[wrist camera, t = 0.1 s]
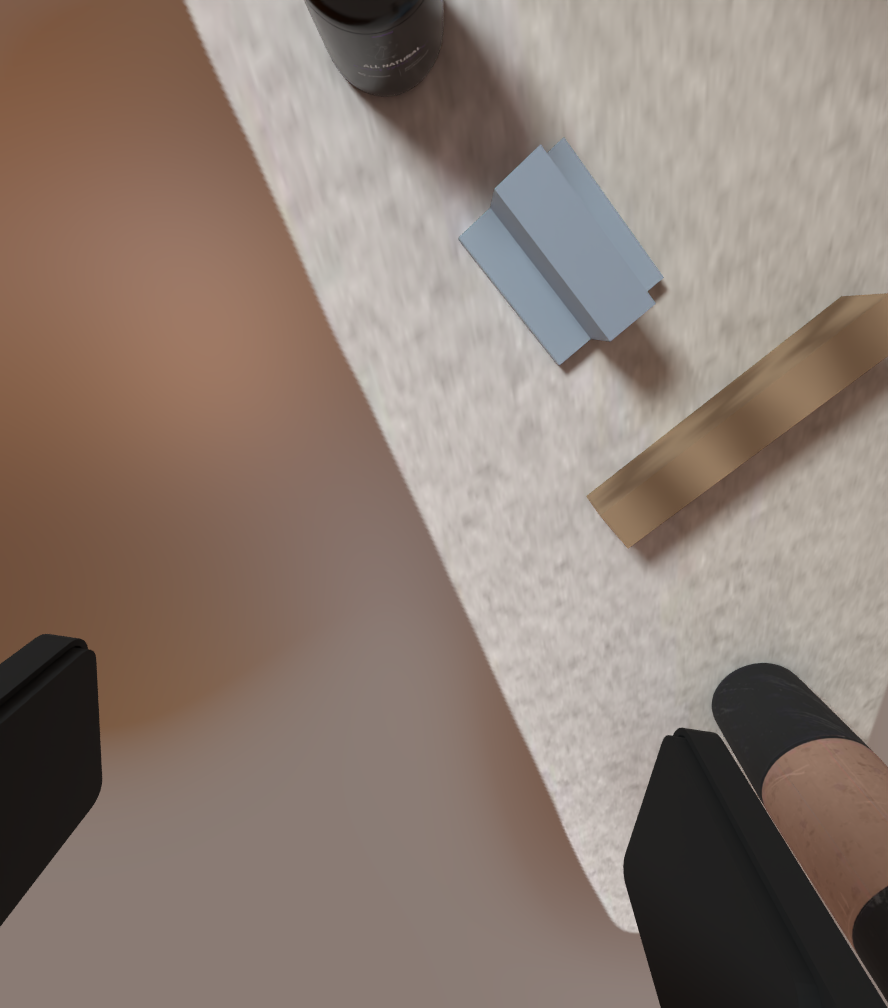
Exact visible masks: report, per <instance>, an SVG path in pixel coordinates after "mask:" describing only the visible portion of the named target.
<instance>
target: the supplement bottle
mask: <svg viewBox="0 0 888 1008" xmlns="http://www.w3.org/2000/svg"><path fill="white" fill-rule="evenodd" d="M304 2H305V4H306V6H307V8H308V10H309V12H310V15H311V17H312V19H313V21H314V23H315V25H316V27H317V30H318V32H319V34H320V36H321V38H322V40H323V42H324V45H325V47H326V49H327V51H328V53H329V55H330V57H331V59H332V61H333V62H334V64H335V66H336V67H337V69H338V70H339V71H340V73H341V74H342V75H343V76H344V77H345V78H346V79H347V80H348V81H349V82H350V83H351V84H352V85H354V86H355V87H357V88H358V89H360V90H362V91H364V92H366V93H369V94H373V95H377V96H393V95H398V94H401V93H404V92H406V91H408V90H410V89H411V88H413V87H415V86H416V85H417V84H418V83H420V82H421V81H422V80H423V79H424V78H425V76H426V75H427V74H428V73H429V71H430V70H431V68H432V66H433V65H434V63H435V61H436V59H437V56H438V54H439V51H440V47H441V43H442V37H443V28H444V8H443V0H304Z"/></svg>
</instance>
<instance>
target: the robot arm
mask: <svg viewBox="0 0 888 1008" xmlns="http://www.w3.org/2000/svg"><path fill="white" fill-rule="evenodd" d="M97 687H98V686H97V666H96V655H95V653H94V652H93V651H92V650H89V649H88V647H87V644H86V642H85V641H84V640H82V639H79V638H71V637H65V636H58V635H51V634H42V635H40V636H38V637H37V638H35V639H34V640H33V641H31V642H30V643H28V644H27V645H26V646H24V647H23V648H22V649H20V650H19V651H18V652H16V653H15V654H13V655H12V656H11V657H9V658H8V659H7V660H5V661H4V662H2V663H1V664H0V926H1V925H2V924H3V922H4V921H5V920H6V918H7V917H8V916H9V914H10V913H11V912H12V910H13V909H14V908H15V907H16V905H17V904H18V903H19V901H20V900H21V899H22V897H23V896H24V895H25V893H26V892H27V891H28V890H29V888H30V887H31V886H32V884H33V883H34V882H35V880H36V879H37V878H38V877H39V875H40V874H41V873H42V871H43V870H44V869H45V868H46V866H47V865H48V864H49V862H50V861H51V860H52V858H53V857H54V856H55V855H56V853H57V852H58V850H59V849H60V848H61V847H62V845H63V844H64V843H65V842H66V840H67V839H68V837H69V836H70V835H71V834H72V832H73V831H74V830H75V828H76V827H77V826H78V824H79V823H80V822H81V821H82V819H83V818H84V817H85V815H86V814H87V813H88V812H89V810H90V809H91V808H92V806H93V805H94V803H95V802H96V800H97V798H98V795H99V793H100V790H101V785H102V765H101V746H100V727H99V706H98V688H97ZM623 868H624V880H625V884H626V888H627V891H628V895H629V898H630V902H631V905H632V909H633V912H634V916H635V919H636V923H637V926H638V930H639V933H640V937H641V940H642V944H643V947H644V951H645V954H646V958H647V961H648V965H649V968H650V971H651V975H652V978H653V982H654V985H655V989H656V992H657V996H658V999H659V1003H660V1006H661V1008H887V1006H886V1005H885V1003H884V1002H883V1000H882V998H881V997H880V995H879V993H878V992H877V990H876V988H875V987H874V985H873V984H872V982H871V980H870V979H869V977H868V976H867V974H866V972H865V971H864V969H863V968H862V966H861V964H860V963H859V961H858V959H857V958H856V956H855V954H854V953H853V951H852V950H851V948H850V946H849V945H848V944H847V941H846V940H845V938H844V937H843V935H842V933H841V932H840V930H839V929H838V927H837V925H836V924H835V923H834V920H833V919H832V917H831V916H830V914H829V912H828V911H827V909H826V907H825V906H824V904H823V903H822V901H821V900H820V898H819V896H818V894H817V893H816V891H815V890H814V888H813V886H812V885H811V883H810V882H809V880H808V878H807V877H806V875H805V873H804V872H803V870H802V869H801V867H800V865H799V864H798V862H797V860H796V859H795V857H794V856H793V854H792V852H791V851H790V849H789V847H788V846H787V844H786V843H785V841H784V839H783V838H782V836H781V835H780V833H779V831H778V830H777V828H776V826H775V825H774V823H773V822H772V820H771V818H770V817H769V815H768V813H767V812H766V810H765V809H764V807H763V805H762V804H761V802H760V800H759V799H758V797H757V796H756V794H755V792H754V791H753V789H752V788H751V786H750V784H749V783H748V781H747V779H746V778H745V776H744V775H743V773H742V771H741V770H740V768H739V766H738V765H737V763H736V762H735V760H734V758H733V757H732V755H731V753H730V752H729V750H728V749H727V747H726V745H725V744H724V742H723V740H722V739H721V738H720V737H719V735H718V734H716V733H714V732H707V731H700V730H693V729H687V728H678V729H677V730H676V731H675V733H674V735H673V736H670V735H668V736H666V737H665V738H664V739H663V741H662V744H661V747H660V750H659V753H658V756H657V759H656V762H655V765H654V768H653V771H652V774H651V777H650V781H649V784H648V787H647V790H646V793H645V796H644V799H643V802H642V805H641V808H640V811H639V814H638V817H637V820H636V823H635V826H634V829H633V832H632V835H631V838H630V841H629V844H628V847H627V850H626V854H625V857H624V865H623Z"/></svg>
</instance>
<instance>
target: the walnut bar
mask: <svg viewBox="0 0 888 1008" xmlns="http://www.w3.org/2000/svg"><path fill="white" fill-rule="evenodd" d="M887 356H888V293H887V294H872V295H856V296H841V297H840V298H839V299H838V300H836V301H835V302H834V303H832V304H831V305H830V306H829V307H827V308H826V309H825V310H824V311H822V312H821V313H820V314H818V315H817V316H816V317H815V318H813V319H812V320H811V321H809V322H808V323H807V324H806V325H804V326H803V327H802V328H801V329H799V330H798V331H797V332H795V333H794V334H793V335H792V336H790V337H789V338H788V339H786V340H785V341H784V342H783V343H781V344H780V345H779V346H778V347H776V348H775V349H774V350H772V351H771V352H770V353H769V354H767V355H766V356H765V357H764V358H762V359H761V360H760V361H758V362H757V363H756V364H755V365H753V366H752V367H751V368H749V369H748V370H747V371H746V372H744V373H743V374H742V375H741V376H739V377H738V378H737V379H735V380H734V381H733V382H732V383H730V384H729V385H728V386H726V387H725V388H724V389H723V390H721V391H720V392H719V393H718V394H716V395H715V396H714V397H712V398H711V399H710V400H709V401H707V402H706V403H705V404H703V405H702V406H701V407H700V408H698V409H697V410H696V411H695V412H693V413H692V414H691V415H689V416H688V417H687V418H686V419H684V420H683V421H682V422H680V423H679V424H678V425H677V426H675V427H674V428H673V429H672V430H670V431H669V432H668V433H666V434H665V435H664V436H663V437H661V438H660V439H659V440H657V441H656V442H655V443H654V444H652V445H651V446H650V447H649V448H647V449H646V450H645V451H643V452H642V453H641V454H640V455H638V456H637V457H636V458H635V459H633V460H632V461H631V462H629V463H628V464H627V465H626V466H624V467H623V468H622V469H620V470H619V471H618V472H617V473H615V474H614V475H613V476H612V477H610V478H609V479H608V480H606V481H605V482H604V483H603V484H601V485H600V486H599V487H597V488H596V489H595V490H594V491H592V492H591V493H590V494H589V495H587V498H588V499H589V501H590V502H591V504H592V505H593V507H594V508H595V509H596V511H597V512H598V514H599V515H600V516H601V518H602V519H603V520H604V521H605V522H606V523H607V525H608V526H609V527H610V528H611V529H612V530H613V532H614V533H615V534H616V535H617V536H618V537H619V539H620V540H621V541H622V542H623V543H624V545H625V546H626V547H627V548H630V547H631V546H632V545H634V544H635V543H636V542H638V541H639V540H640V539H642V538H643V537H644V536H646V535H647V534H648V533H650V532H651V531H652V530H654V529H655V528H657V527H658V526H659V525H661V524H662V523H663V522H665V521H666V520H667V519H669V518H670V517H671V516H673V515H674V514H675V513H677V512H678V511H679V510H681V509H682V508H684V507H685V506H686V505H688V504H689V503H690V502H692V501H693V500H694V499H696V498H697V497H698V496H700V495H701V494H702V493H704V492H705V491H706V490H708V489H709V488H711V487H712V486H713V485H715V484H716V483H717V482H719V481H720V480H721V479H723V478H724V477H725V476H727V475H728V474H729V473H731V472H732V471H733V470H735V469H736V468H738V467H739V466H740V465H742V464H743V463H744V462H746V461H747V460H748V459H750V458H751V457H752V456H754V455H755V454H756V453H758V452H759V451H760V450H762V449H763V448H764V447H766V446H767V445H769V444H770V443H771V442H773V441H774V440H775V439H777V438H778V437H779V436H781V435H782V434H783V433H785V432H786V431H787V430H789V429H790V428H791V427H793V426H794V425H796V424H797V423H798V422H800V421H801V420H802V419H804V418H805V417H806V416H808V415H809V414H810V413H812V412H813V411H814V410H816V409H817V408H818V407H820V406H821V405H823V404H824V403H825V402H827V401H828V400H829V399H831V398H832V397H833V396H835V395H836V394H837V393H839V392H840V391H841V390H843V389H844V388H845V387H847V386H848V385H850V384H851V383H852V382H854V381H855V380H856V379H858V378H859V377H860V376H862V375H863V374H864V373H866V372H867V371H868V370H870V369H871V368H872V367H874V366H875V365H877V364H878V363H879V362H881V361H882V360H883V359H885V358H886V357H887Z"/></svg>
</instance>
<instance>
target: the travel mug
mask: <svg viewBox="0 0 888 1008" xmlns="http://www.w3.org/2000/svg"><path fill="white" fill-rule="evenodd" d="M712 711H713V715H714V718H715V720H716V722H717V724H718V726H719V728H720V730H721V732H722V733H723V735H724V737H725V739H726V740H727V742H728V744H729V746H730V747H731V749H732V751H733V753H734V754H735V756H736V758H737V760H738V761H739V763H740V765H741V767H742V768H743V770H744V772H745V774H746V775H747V777H748V779H749V781H750V782H751V784H752V786H753V788H754V789H755V791H756V793H757V794H758V796H759V798H760V800H761V801H762V803H763V805H764V807H765V808H766V810H767V812H768V813H769V815H770V817H771V818H772V820H773V821H774V823H775V824H776V826H777V828H778V829H779V831H780V832H781V834H782V836H783V837H784V839H785V840H786V842H787V843H788V845H789V847H790V848H791V850H792V851H793V853H794V855H795V856H796V858H797V859H798V861H799V862H800V864H801V866H802V867H803V869H804V870H805V872H806V874H807V875H808V877H809V878H810V880H811V881H812V883H813V885H814V886H815V888H816V889H817V891H818V893H819V894H820V895H821V897H822V899H823V900H824V902H825V904H826V905H827V907H828V908H829V910H830V912H831V913H832V915H833V916H834V918H835V919H836V921H837V923H838V924H839V926H840V927H841V929H842V930H843V932H844V934H845V935H846V937H847V939H848V940H849V942H850V943H851V945H852V946H853V948H854V949H855V951H856V953H857V954H858V956H859V957H860V959H861V961H862V962H863V964H864V965H865V967H866V969H867V970H868V972H869V973H870V975H871V976H872V978H873V980H874V981H875V983H876V984H877V986H878V988H879V989H880V990H881V992H882V994H883V995H884V997H885V999H886V1000H887V1002H888V767H887V766H886V765H885V764H884V763H883V762H882V760H881V759H880V758H879V757H878V756H877V755H876V754H875V753H874V752H873V751H872V750H871V749H870V748H869V747H868V746H867V745H866V744H865V743H864V742H863V741H862V740H861V739H860V738H859V737H858V736H857V735H856V734H855V733H854V732H853V731H852V730H851V729H850V728H849V727H848V726H847V725H846V724H845V723H844V722H843V721H842V720H841V719H840V718H839V717H838V716H837V715H836V714H835V713H834V712H833V711H832V710H831V709H830V708H829V707H828V706H827V705H826V704H825V703H824V702H823V701H822V700H820V699H819V698H818V697H817V696H816V695H815V694H814V693H813V692H812V691H811V690H810V689H809V688H808V687H807V686H806V685H805V684H804V683H803V682H802V681H801V680H800V679H799V678H798V677H797V676H796V675H795V674H793V673H792V672H791V671H789V670H788V669H786V668H784V667H782V666H779V665H775V664H769V663H758V664H751V665H747V666H744V667H742V668H739V669H737V670H735V671H734V672H732V673H731V674H729V675H728V676H727V677H726V678H725V679H724V680H723V681H722V682H721V683H720V684H719V685H718V687H717V689H716V691H715V693H714V695H713V699H712Z"/></svg>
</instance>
